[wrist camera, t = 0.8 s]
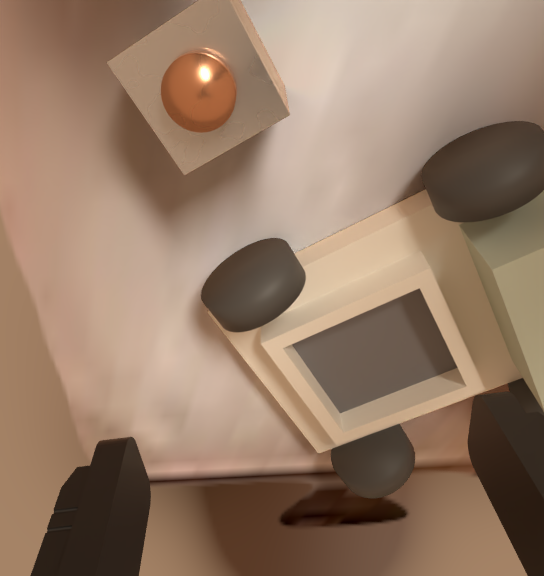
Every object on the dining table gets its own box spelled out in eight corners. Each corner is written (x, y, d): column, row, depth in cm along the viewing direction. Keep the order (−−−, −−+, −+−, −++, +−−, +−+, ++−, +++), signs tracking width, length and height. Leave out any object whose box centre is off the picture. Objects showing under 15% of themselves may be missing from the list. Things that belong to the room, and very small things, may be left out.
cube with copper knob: (229, -21, 24) (219, -14, 18) (284, 85, 27) (291, 121, 21) (137, 41, 25) (99, 67, 20) (198, 136, 28) (181, 183, 22)
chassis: (531, 100, 27) (605, 140, 21) (595, 346, 37) (658, 420, 31) (193, 273, 33) (178, 341, 27) (326, 447, 43) (337, 525, 37)
